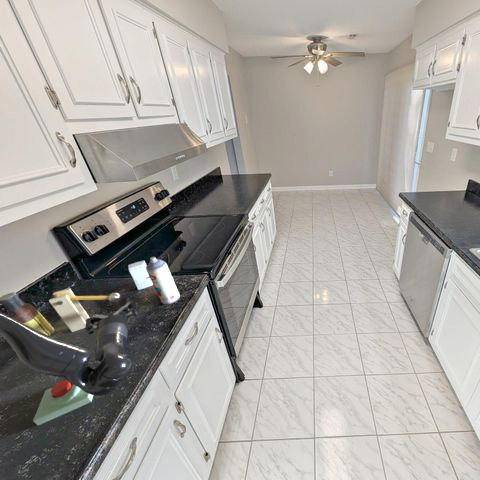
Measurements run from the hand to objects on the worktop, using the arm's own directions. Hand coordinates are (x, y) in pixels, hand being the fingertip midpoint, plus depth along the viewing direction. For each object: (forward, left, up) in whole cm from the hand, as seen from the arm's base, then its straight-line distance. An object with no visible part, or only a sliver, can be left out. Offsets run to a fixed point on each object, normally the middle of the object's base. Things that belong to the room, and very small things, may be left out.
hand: (114, 304), depth 91 cm
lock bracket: (-14, -3, -8) cm, 16 cm away
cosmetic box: (-5, +20, -8) cm, 22 cm away
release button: (+6, -28, -4) cm, 29 cm away
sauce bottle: (-24, -8, -8) cm, 26 cm away
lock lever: (-9, 0, +1) cm, 9 cm away
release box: (+6, -28, -8) cm, 30 cm away
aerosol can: (+11, +12, -8) cm, 18 cm away
